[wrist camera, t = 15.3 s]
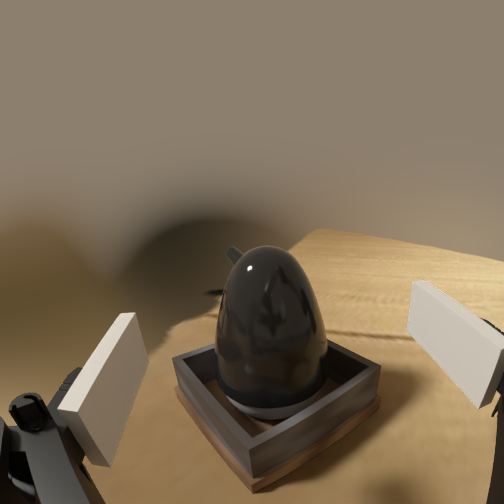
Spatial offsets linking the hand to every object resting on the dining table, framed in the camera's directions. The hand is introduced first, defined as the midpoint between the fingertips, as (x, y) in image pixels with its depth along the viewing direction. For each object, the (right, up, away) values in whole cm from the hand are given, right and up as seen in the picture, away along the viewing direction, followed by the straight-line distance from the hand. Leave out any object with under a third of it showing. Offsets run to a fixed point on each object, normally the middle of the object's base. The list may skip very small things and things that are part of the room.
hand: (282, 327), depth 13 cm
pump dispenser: (+1, -11, +14) cm, 18 cm away
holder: (+1, -12, +15) cm, 19 cm away
